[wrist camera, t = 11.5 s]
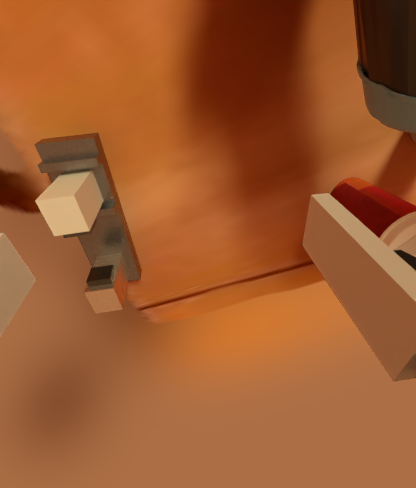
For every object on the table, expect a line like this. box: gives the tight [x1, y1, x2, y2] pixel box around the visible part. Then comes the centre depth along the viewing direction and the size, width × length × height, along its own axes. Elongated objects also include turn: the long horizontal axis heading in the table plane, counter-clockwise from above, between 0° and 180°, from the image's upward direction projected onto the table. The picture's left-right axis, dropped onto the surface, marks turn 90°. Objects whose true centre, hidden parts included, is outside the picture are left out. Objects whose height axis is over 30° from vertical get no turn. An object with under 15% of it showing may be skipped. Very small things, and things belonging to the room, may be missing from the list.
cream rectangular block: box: [35, 170, 104, 238], centre depth 31 cm, size 6×4×8 cm
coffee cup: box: [331, 178, 416, 257], centre depth 37 cm, size 8×8×15 cm
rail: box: [35, 133, 141, 314], centre depth 36 cm, size 24×7×10 cm, turn 5°
